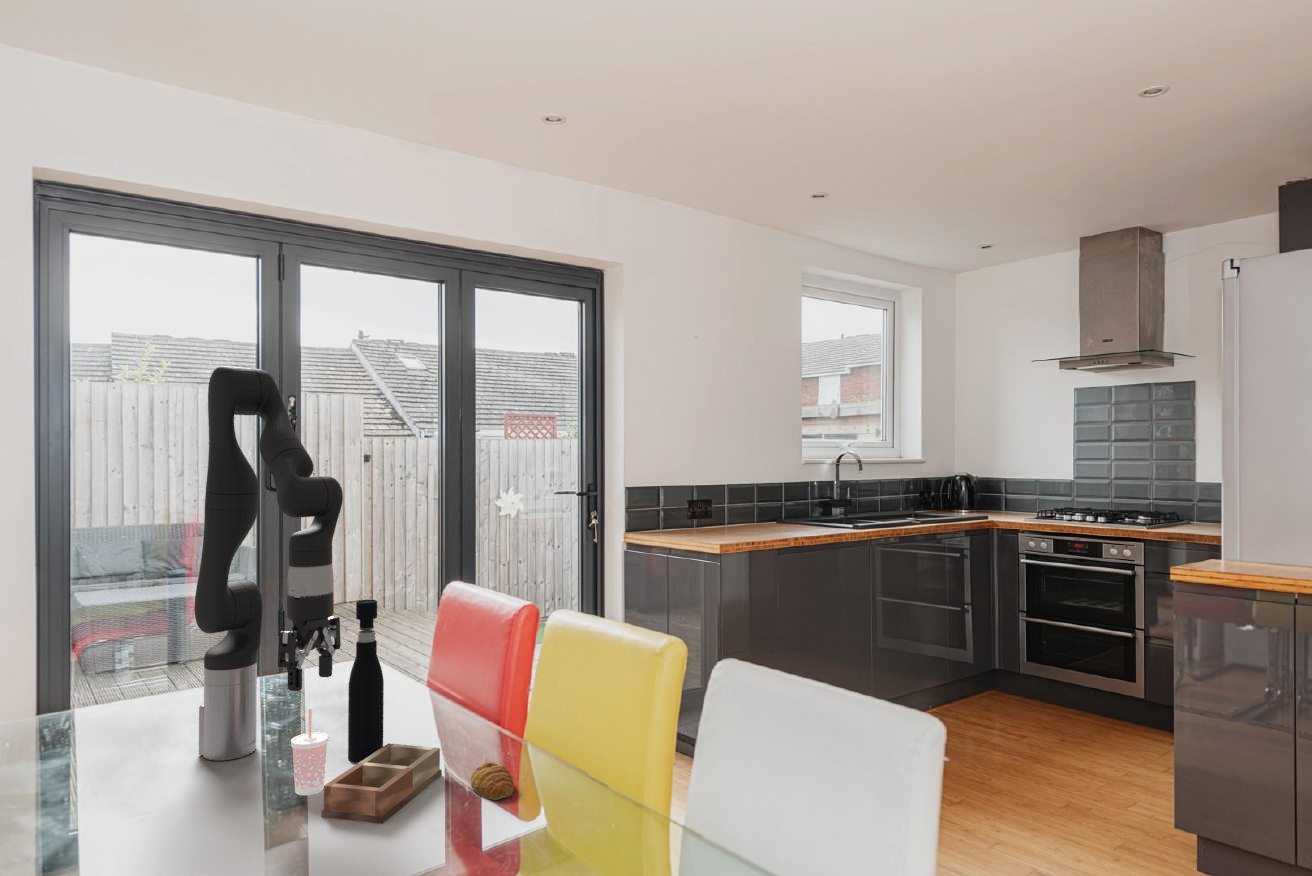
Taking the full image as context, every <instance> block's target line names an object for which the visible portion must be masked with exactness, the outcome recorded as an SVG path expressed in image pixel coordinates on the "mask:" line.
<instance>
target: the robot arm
mask: <svg viewBox="0 0 1312 876" xmlns="http://www.w3.org/2000/svg"><path fill="white" fill-rule="evenodd" d="M209 377H210V378H209V382H208V389H207V390H208V391H207V414H208V419H207V420H208V456H207V457H208V460H207V461H208V462H207V465H208V466H207V472H206V474H207V475H206V482H205V495H204V496H205V497H204V498H205V499H204V524H203V525H204V526H203V537H202V538H203V539H202V551H201V559H200V564H199V571H198V576H197V577H198V578H197V583H196V590H195V596H194V597H195V598H194V606H193V607H194V611H193V612H194V618H195V622H196V625H197V627H198V629H199V630H200V631H201V632H203V633H204V634H208V635H209V634H217V633H222V632H227V633H226V635H225V636H224V637H223V639H222V640H221V641H219V642H218V643H217V644H215V645H213V646H212V647H211V648H209V649H208V650H207V651H206V652H205V654H204V658H203V704H201V705H200V706H199V708H198V756H199V755H203V756H202V758H204V759H205V760H209V761H218V762H219V761H220V762H221V761H229V760H230V761H231V760H235V759H240V758H242V757H245V755H246V756H248V755H250V753H251V754H252V753H254V752H255V751H256V750H255V749H257V704H258V703H257V696H258V695H257V694H258V693H257V690H258V689H257V688H258V687H257V684H258V676H257V672H258V670H257V668H258V667H257V665H258V662H257V661H258V652H259V650H260V646H261V643H262V642H261V640H262V639H261V637H262V624H263V623H262V621H263V609H264V608H263V598H262V594H261V590H260V588H259V586H258V585H257V584H256V583H255V582H253V581H251V580H248V579H247V580H245V579H243V580H236V581H229V575H230V570H231V566H232V562H233V560H234V557H235V555H236V553H237V552H238V549H239V548H240V546H241V545H242V543H243V542H244V541H245V539H246V538H247V536H248V534H249V533H250V531H251V530H252V529H253V526H254V524H255V522H256V519H257V517H258V512H259V509H258V508H259V496H260V494H259V493H260V483H259V480H258V477H257V474H256V473H255V470H254V469H253V467H252V465H251V463H250V462H249V461H248V459H247V458H246V455H244V452H243V451H242V449H241V447H240V444H239V443H238V440H237V435H236V430H235V416H258V417H260V418H261V419H262V420H263V422H264V423H265V424H264V427H263V429H262V432H261V435H260V439H259V452H260V456H261V458H262V460H263V461H264V463H265V465H266V466H267V468H268V470H269V472H270V473H271V475H272V478H273V481H274V485H275V486H274V487H275V491H276V500H277V505H278V507H279V510H280V511H281V512H282V513H283V514H285V516H288V517H290V518H295V519H298V518H313V520H312V521H311V524H310V526H308V527H307V528H305V529H302V530H299V531H296V532H294V533H291V535H290V536H289V540H288V573H287V580H286V581H287V582H286V583H287V584H286V586H287V587H286V588H287V589H286V592H287V593H286V594H287V595H286V596H287V597H286V603H287V605H286V606H287V608H286V609H287V610H286V611H287V613H286V614H287V615H286V617H287V619H288V620H289V621H291V622H292V628H291V630H289V631H288V630H287V631H286V630H281V631H279V633H278V650H277V651H278V653H277V667H278V668H283V669H287V689H288V691H290V692H298V691H299V692H300V691H301V690H302V689H303V668H302V666H303V663H304V661H305V658H308V656H309V655H310V653H311V651H313V650H314V649H316V651H317V652H318V654H319V656H318V675H319V678H330V677H332V676H333V656H334V655H335V652H336V650H340V649H341V646H342V645H341V621H340V617H339V616H333V615H334V613H335V612H334V608H335V606H334V602H335V601H334V598H335V597H334V594H335V593H334V590H335V586H334V584H335V583H334V582H335V579H334V578H335V577H334V571H333V570H334V569H333V540H334V539H333V538H334V536H335V532H336V527H337V524H338V520H339V516H340V512H341V510H342V507H343V506H342V505H343V500H344V494H343V489H342V487H341V484H340V483H339V481H338V480H337V479H336V478H335V477H332V476H328V475H326V476H325V475H324V476H311V475H312V474H313V472H314V462H313V460H312V457H311V456H310V454H309V453H308V451H307V449H306V448H305V446H304V445H303V444H302V442H301V441H300V438H299V437H298V435H297V434H296V431H295V430H294V428H293V426H292V423H291V420H290V417H289V415H288V414H289V413H288V411H287V408H286V406H285V403H284V400H283V398H282V396H281V393H280V390H279V387H278V385H277V384H276V381H275V379H274V378H273V376H272V375H271V374H270V373H269V372H267V370H263V369H259V368H252V367H239V366H231V365H227V366H226V365H221V366H217V367H215V368H214V370H212V373H211V375H210V376H209ZM332 638H334V641H333V639H332ZM297 648H298V649H297ZM286 654H287V655H288V656H287V657H286ZM296 657H297V659H296ZM253 751H254V752H253Z"/></svg>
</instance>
